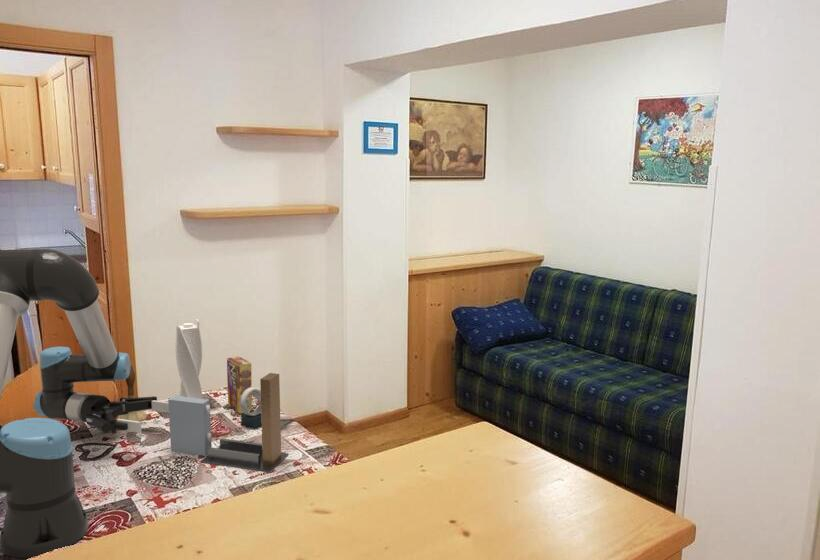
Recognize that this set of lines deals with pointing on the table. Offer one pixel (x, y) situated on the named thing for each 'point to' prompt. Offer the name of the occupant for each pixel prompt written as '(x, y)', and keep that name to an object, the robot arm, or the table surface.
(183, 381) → the skyscraper
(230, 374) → the candy box
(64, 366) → the robot arm
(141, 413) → the hand bell
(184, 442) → the door panel
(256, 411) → the watch
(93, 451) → the table surface
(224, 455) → the base
